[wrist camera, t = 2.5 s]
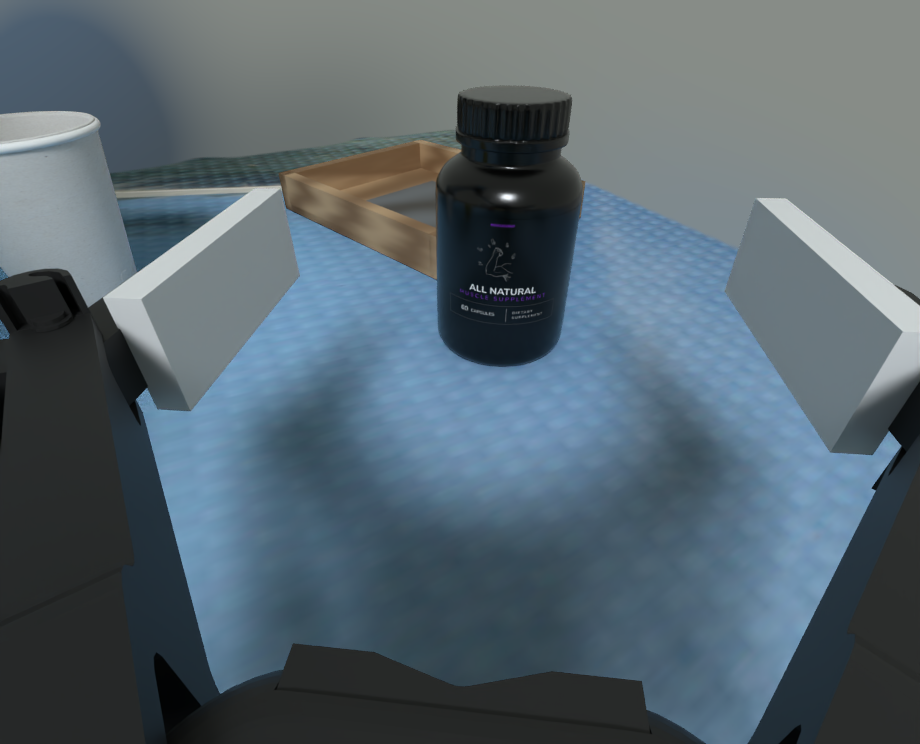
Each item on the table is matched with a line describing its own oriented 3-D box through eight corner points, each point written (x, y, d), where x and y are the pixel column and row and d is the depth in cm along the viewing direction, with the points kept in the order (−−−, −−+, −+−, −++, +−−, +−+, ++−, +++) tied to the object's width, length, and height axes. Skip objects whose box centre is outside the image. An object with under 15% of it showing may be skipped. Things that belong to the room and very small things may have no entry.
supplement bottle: (480, 387, 25) (486, 115, 17) (417, 323, 29) (402, 88, 22) (588, 346, 27) (632, 96, 20) (515, 293, 32) (529, 76, 25)
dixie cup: (-23, 339, 28) (-156, 150, 22) (57, 273, 35) (-30, 112, 29) (133, 331, 29) (45, 144, 23) (182, 266, 36) (124, 108, 29)
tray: (286, 207, 45) (278, 173, 43) (421, 170, 54) (420, 139, 52) (440, 281, 33) (439, 238, 32) (580, 217, 42) (585, 181, 40)
